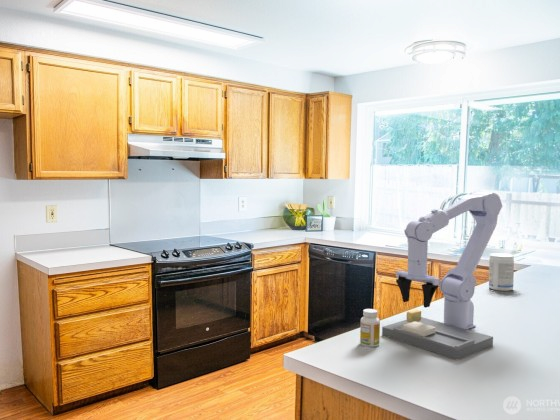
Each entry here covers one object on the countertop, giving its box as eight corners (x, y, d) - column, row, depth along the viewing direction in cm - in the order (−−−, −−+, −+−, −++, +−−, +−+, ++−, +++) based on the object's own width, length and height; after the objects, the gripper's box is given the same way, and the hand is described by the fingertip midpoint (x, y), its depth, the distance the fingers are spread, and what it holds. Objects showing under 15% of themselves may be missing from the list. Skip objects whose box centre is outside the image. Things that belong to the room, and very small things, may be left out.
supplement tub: (516, 289, 206) (518, 255, 205) (508, 292, 199) (509, 257, 198) (493, 285, 213) (494, 252, 212) (484, 288, 206) (485, 254, 205)
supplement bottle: (376, 340, 140) (377, 307, 139) (381, 347, 134) (382, 313, 134) (358, 340, 140) (359, 307, 139) (362, 347, 134) (362, 313, 134)
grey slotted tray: (418, 323, 156) (418, 313, 156) (492, 345, 137) (493, 333, 136) (382, 334, 145) (382, 323, 145) (457, 360, 125) (457, 346, 125)
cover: (415, 326, 144) (415, 321, 144) (435, 332, 139) (435, 326, 139) (402, 330, 141) (402, 324, 140) (423, 336, 135) (423, 330, 135)
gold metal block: (415, 321, 150) (415, 309, 150) (420, 322, 148) (421, 310, 148) (406, 323, 147) (406, 311, 147) (411, 325, 146) (412, 313, 145)
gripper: (390, 258, 150) (388, 301, 151) (430, 265, 139) (428, 311, 140) (404, 256, 155) (403, 297, 156) (444, 262, 143) (442, 307, 144)
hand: (416, 304), depth 148 cm, fingers open, 7 cm apart
